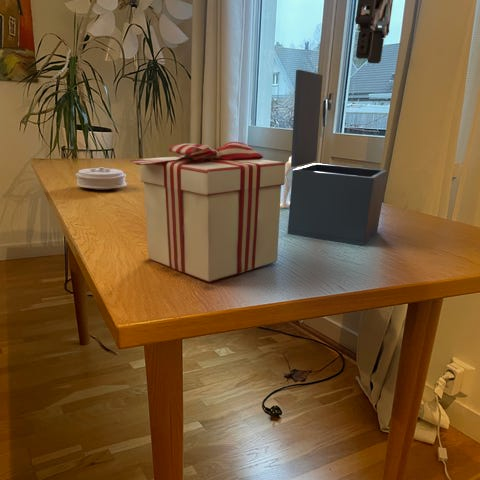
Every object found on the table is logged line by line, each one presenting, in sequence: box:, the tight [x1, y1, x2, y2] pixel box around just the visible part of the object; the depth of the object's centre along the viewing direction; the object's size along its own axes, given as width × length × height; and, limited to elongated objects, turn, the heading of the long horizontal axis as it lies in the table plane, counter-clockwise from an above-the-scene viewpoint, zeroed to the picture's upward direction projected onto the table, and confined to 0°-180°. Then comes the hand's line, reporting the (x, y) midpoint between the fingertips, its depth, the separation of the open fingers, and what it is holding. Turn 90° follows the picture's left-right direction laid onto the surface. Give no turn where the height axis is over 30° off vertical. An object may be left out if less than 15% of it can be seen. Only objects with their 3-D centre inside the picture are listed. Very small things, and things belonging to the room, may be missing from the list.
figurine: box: [280, 155, 302, 209], centre depth 111 cm, size 7×4×12 cm, turn 141°
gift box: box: [128, 141, 286, 283], centre depth 70 cm, size 17×18×17 cm
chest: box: [286, 162, 388, 247], centre depth 91 cm, size 15×13×12 cm
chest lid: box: [290, 69, 324, 167], centre depth 88 cm, size 16×13×1 cm
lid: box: [75, 166, 127, 191], centre depth 124 cm, size 13×13×5 cm
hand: (368, 61), depth 80 cm, fingers open, 8 cm apart
